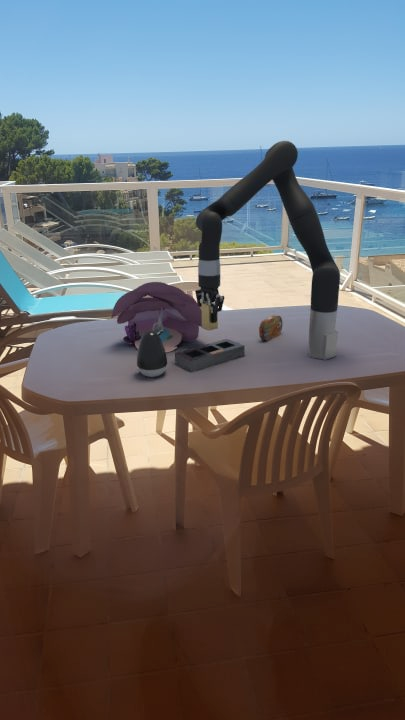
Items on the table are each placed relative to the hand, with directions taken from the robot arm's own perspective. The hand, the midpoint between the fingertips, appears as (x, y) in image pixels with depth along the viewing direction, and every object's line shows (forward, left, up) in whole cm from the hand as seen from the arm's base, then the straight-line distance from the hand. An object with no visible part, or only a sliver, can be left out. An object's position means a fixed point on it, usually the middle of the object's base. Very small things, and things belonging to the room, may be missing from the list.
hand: (209, 320), depth 173 cm
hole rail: (0, 0, -15) cm, 15 cm away
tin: (+4, -34, -15) cm, 37 cm away
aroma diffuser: (+2, +23, -15) cm, 28 cm away
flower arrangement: (+25, +6, -15) cm, 30 cm away
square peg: (0, 0, -3) cm, 3 cm away
